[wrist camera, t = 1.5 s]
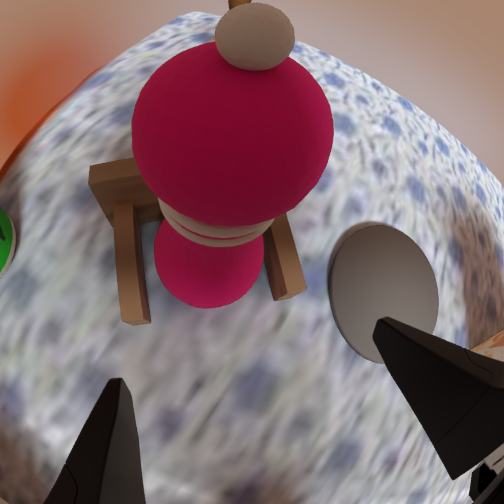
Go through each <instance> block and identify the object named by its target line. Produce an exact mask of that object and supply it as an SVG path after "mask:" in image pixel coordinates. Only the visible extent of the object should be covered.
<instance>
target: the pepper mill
mask: <svg viewBox="0 0 504 504" xmlns="http://www.w3.org/2000/svg"><path fill="white" fill-rule="evenodd" d="M294 43H295V36H294V28H293V26H292V24H291V22H290V20H289V18H288V17H287V16H286V15H285V14H284V13H283V12H282V11H281V10H279V9H277V8H275V7H273V6H270V5H268V4H263V3H246V4H242V5H239V6H236V7H234V8H233V9H231V10H229V11H228V12H227V13H226V14H225V15H224V16H223V17H222V18H221V19H220V21H219V23H218V25H217V27H216V31H215V42H210V43H205V44H202V45H199V46H196V47H193V48H190V49H188V50H185V51H183V52H181V53H179V54H177V55H176V56H174V57H172V58H171V59H169V60H168V61H167V62H165V63H164V64H163V65H162V66H160V67H159V68H158V69H157V70H156V71H155V72H154V73H153V75H152V76H151V77H150V78H149V80H148V81H147V83H146V84H145V85H144V87H143V88H142V90H141V92H140V95H139V97H138V100H137V102H136V105H135V109H134V114H133V118H132V149H133V153H134V157H135V161H136V164H137V166H138V169H139V172H140V174H141V175H142V177H143V179H144V180H145V182H146V184H147V186H148V187H149V188H150V189H151V190H152V191H153V192H154V193H155V194H156V195H157V196H158V201H159V205H160V208H161V211H162V213H163V215H164V217H165V218H164V220H163V222H162V224H161V226H160V228H159V230H158V232H157V235H156V238H155V243H154V258H155V265H156V269H157V272H158V275H159V277H160V279H161V281H162V283H163V284H164V286H165V287H166V288H167V289H168V290H169V292H170V293H172V294H173V295H174V296H175V297H176V298H178V299H180V300H181V301H183V302H185V303H187V304H189V305H191V306H194V307H197V308H204V309H206V308H215V307H221V306H225V305H228V304H231V303H232V302H234V301H236V300H238V299H240V298H241V297H242V296H243V295H245V294H246V293H247V292H248V291H249V289H250V288H251V287H252V286H253V284H254V282H255V281H256V279H257V277H258V275H259V273H260V270H261V267H262V264H263V258H264V244H263V237H262V233H264V232H265V231H266V230H267V228H268V227H269V226H270V225H271V224H272V222H273V221H274V219H275V218H276V217H278V216H280V215H282V214H283V213H285V212H287V211H289V210H291V209H293V208H295V206H296V205H297V204H298V203H299V202H300V201H301V200H302V199H303V198H304V197H305V196H306V195H307V194H308V193H309V192H310V191H311V190H312V189H313V188H314V187H315V186H316V184H317V183H318V181H319V179H320V177H321V175H322V173H323V171H324V169H325V167H326V166H327V163H328V159H329V156H330V152H331V149H332V144H333V136H334V128H333V118H332V113H331V108H330V105H329V103H328V100H327V98H326V96H325V94H324V92H323V90H322V88H321V87H320V85H319V84H318V83H317V81H316V80H315V79H314V78H313V76H312V75H311V74H310V73H309V72H308V71H307V70H306V69H305V68H304V67H303V66H301V65H300V64H299V63H297V62H296V61H295V60H293V59H292V58H290V57H288V56H289V54H290V52H291V51H292V49H293V46H294Z"/></svg>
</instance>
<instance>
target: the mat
mask: <svg viewBox="0 0 504 504" xmlns="http://www.w3.org/2000/svg"><path fill="white" fill-rule="evenodd" d="M329 296H330V303H331V309H332V313H333V316H334V319H335V322H336V324H337V327H338V329H339V331H340V333H341V334H342V336H343V337H344V339H345V340H346V342H347V343H348V344H349V345H350V347H351V348H352V349H353V350H354V351H356V352H357V353H358V354H359V355H361V356H362V357H364V358H365V359H367V360H370V361H372V362H375V363H380V364H385V363H384V361H383V359H382V357H381V355H380V353H379V351H378V349H377V347H376V345H375V343H374V341H373V338H372V334H373V331H374V328H375V325H376V322H377V320H378V319H380V318H382V317H385V316H388V317H391V318H393V319H395V320H398V321H400V322H403V323H405V324H407V325H410V326H412V327H415V328H417V329H419V330H422V331H424V332H427V333H429V334H432V333H433V331H434V328H435V325H436V321H437V316H438V307H439V297H438V288H437V283H436V279H435V275H434V272H433V270H432V267H431V265H430V263H429V261H428V259H427V257H426V256H425V254H424V253H423V251H422V250H421V249H420V247H419V246H418V245H417V244H416V243H415V242H414V241H413V240H412V239H411V238H410V237H408V236H407V235H406V234H404V233H403V232H401V231H399V230H397V229H394V228H391V227H388V226H379V225H376V226H369V227H366V228H363V229H361V230H360V231H358V232H356V233H355V234H354V235H352V236H351V237H350V238H349V239H347V240H346V242H345V243H344V244H343V245H342V246H341V248H340V249H339V251H338V253H337V255H336V257H335V259H334V262H333V265H332V268H331V273H330V282H329Z"/></svg>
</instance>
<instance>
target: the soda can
mask: <svg viewBox="0 0 504 504" xmlns="http://www.w3.org/2000/svg"><path fill="white" fill-rule="evenodd" d="M15 244H16V231H15V227H14V224H13V221H12V220H11V219H10V217H9V216H8V215H7V214H6V213H5V212H4V211H3V210H2V209H1V208H0V278H1V277H2V276H3V275H4V274H5V273H6V271H7V270H8V268H9V266H10V265H11V262H12V259H13V257H14V251H15Z"/></svg>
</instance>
